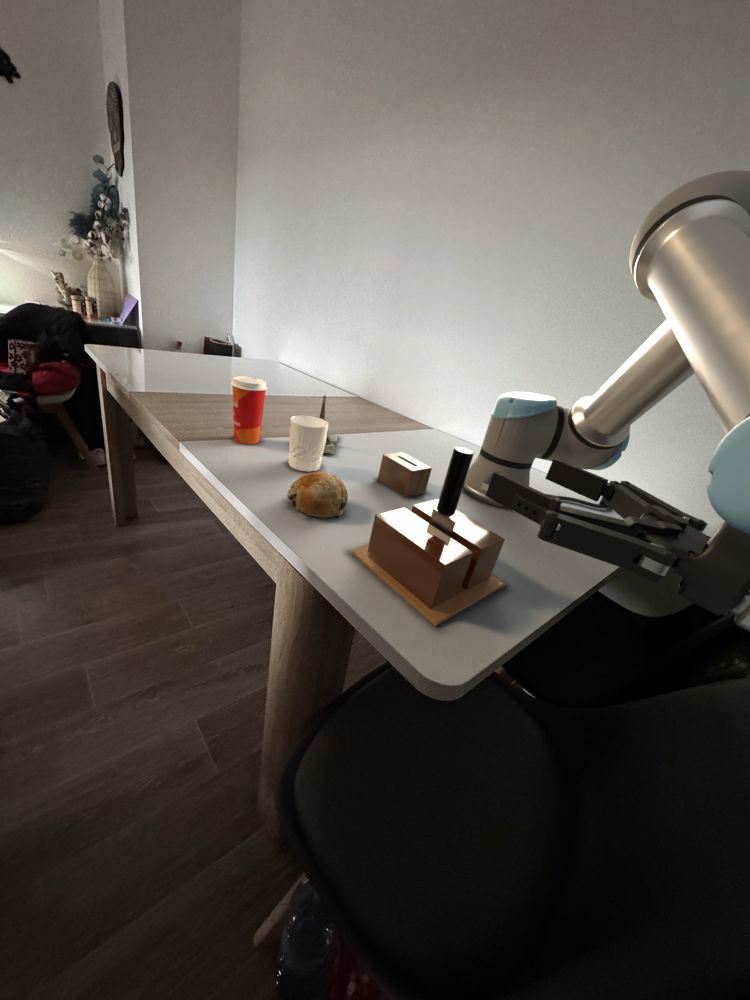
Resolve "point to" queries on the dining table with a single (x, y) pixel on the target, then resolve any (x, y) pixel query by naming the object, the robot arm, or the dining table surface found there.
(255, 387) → the paper cup
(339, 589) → the dining table surface
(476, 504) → the dining table surface
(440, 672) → the dining table surface
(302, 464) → the white cup
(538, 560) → the dining table surface
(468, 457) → the knife
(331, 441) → the eiffel tower figurine
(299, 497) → the bread roll
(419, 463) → the knife block
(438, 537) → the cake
